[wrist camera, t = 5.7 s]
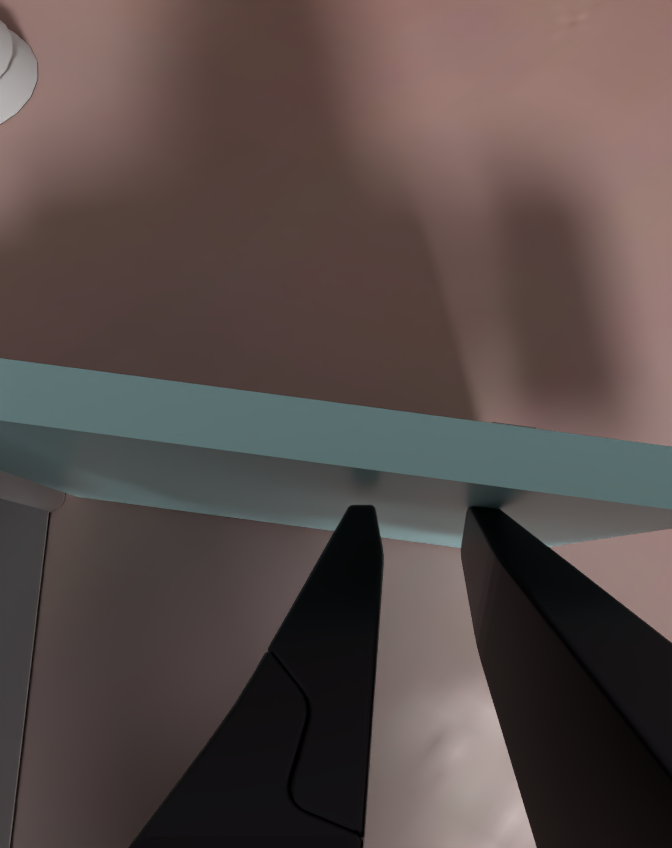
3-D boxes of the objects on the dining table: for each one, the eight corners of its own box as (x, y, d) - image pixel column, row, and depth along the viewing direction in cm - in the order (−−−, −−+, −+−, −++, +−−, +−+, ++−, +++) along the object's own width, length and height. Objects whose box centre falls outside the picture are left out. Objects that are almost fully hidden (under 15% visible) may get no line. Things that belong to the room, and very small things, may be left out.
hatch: (76, 496, 16) (-230, 389, 7) (92, 435, 16) (-175, 263, 7) (503, 553, 15) (739, 519, 7) (505, 489, 16) (728, 381, 7)
